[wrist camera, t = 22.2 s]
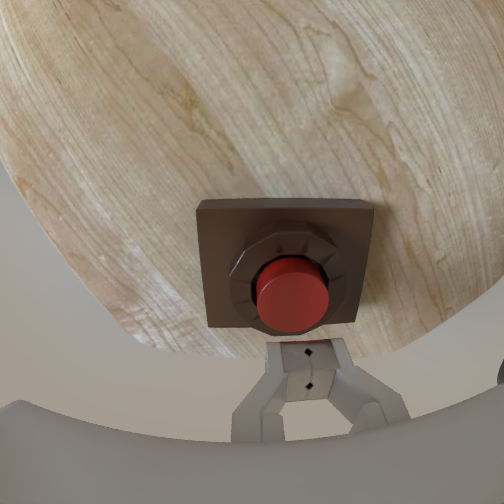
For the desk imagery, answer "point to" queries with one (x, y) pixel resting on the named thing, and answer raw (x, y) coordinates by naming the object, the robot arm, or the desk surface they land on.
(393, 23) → the desk surface
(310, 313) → the light button
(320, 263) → the button box
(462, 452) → the robot arm
